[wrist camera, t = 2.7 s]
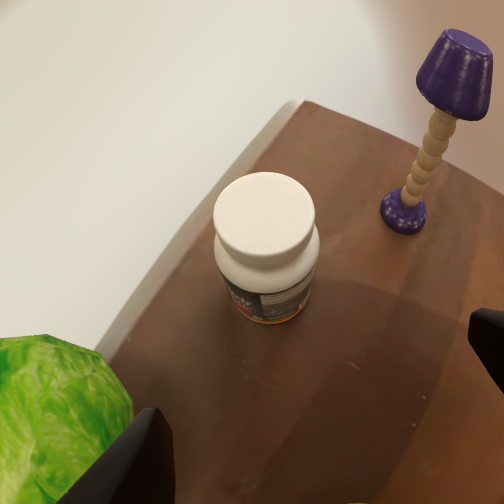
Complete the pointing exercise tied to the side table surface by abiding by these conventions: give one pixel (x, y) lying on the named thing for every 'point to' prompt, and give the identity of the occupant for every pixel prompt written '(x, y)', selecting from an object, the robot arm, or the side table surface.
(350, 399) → the side table surface
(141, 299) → the side table surface
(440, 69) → the toy lamp
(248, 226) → the pill bottle
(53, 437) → the lettuce
